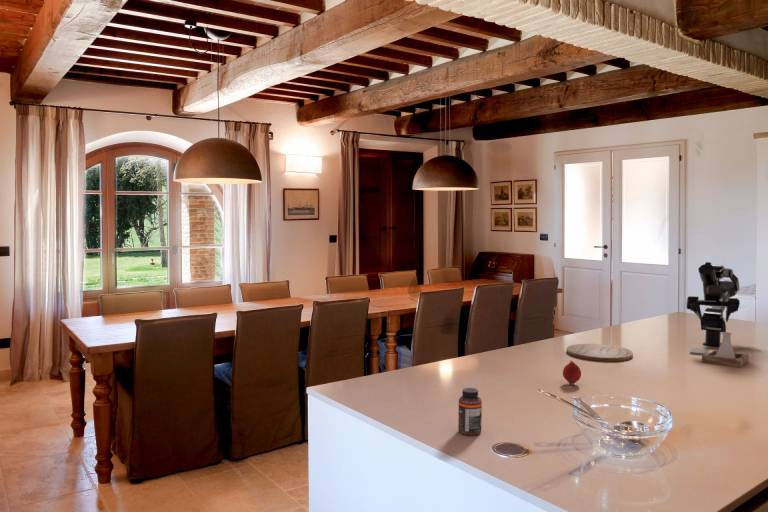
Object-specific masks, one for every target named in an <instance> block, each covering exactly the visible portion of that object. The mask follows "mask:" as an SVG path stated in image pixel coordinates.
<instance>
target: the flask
mask: <svg viewBox="0 0 768 512" xmlns="http://www.w3.org/2000/svg"><path fill="white" fill-rule="evenodd" d="M721 335H722V339H721V340H722V341H721V342H720V343H721V345H720V346H719V347H718V352H717V354H716V357H723V358H730V359H736V357H735V354H734V353H735V352H734V349H733V346H732V339H731V336H732V332H727V331H726V332H721Z"/></svg>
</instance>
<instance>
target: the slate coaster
mask: <svg viewBox="0 0 768 512" xmlns="http://www.w3.org/2000/svg"><path fill="white" fill-rule="evenodd" d="M709 350H712V349H711V348H710V349H709V348H700V347H691V349H690V351H689V354H690V355H699V356H702V355H703V354H705V353H706V352H708V351H709Z"/></svg>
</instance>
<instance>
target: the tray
mask: <svg viewBox="0 0 768 512" xmlns="http://www.w3.org/2000/svg"><path fill="white" fill-rule="evenodd" d="M718 350H719V349H718ZM718 350H717V349H711V350H709V351H708V352H706V353H705V354H703V355H701V362H702V363H708V364H713V365H721V366H728V367H733V368H734V367H735V368H742V367H743V366H745V364H746V363H748V362H749V354H746V353H740V352H734V354H735V357H736V359H730V358H723V357H716V354H717V352H718Z"/></svg>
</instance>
